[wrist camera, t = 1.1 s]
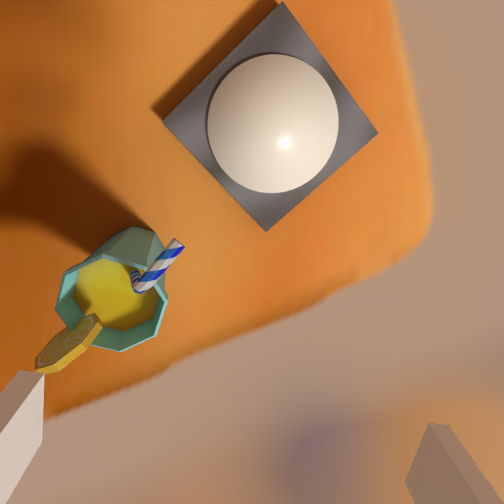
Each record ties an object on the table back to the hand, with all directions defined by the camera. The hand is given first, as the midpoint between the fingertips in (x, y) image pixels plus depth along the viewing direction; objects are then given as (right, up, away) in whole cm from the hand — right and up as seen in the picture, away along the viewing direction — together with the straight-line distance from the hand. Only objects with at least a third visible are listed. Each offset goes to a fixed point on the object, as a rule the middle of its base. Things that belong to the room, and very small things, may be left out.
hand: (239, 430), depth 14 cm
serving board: (+2, +17, +21) cm, 27 cm away
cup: (-10, +7, +24) cm, 27 cm away
